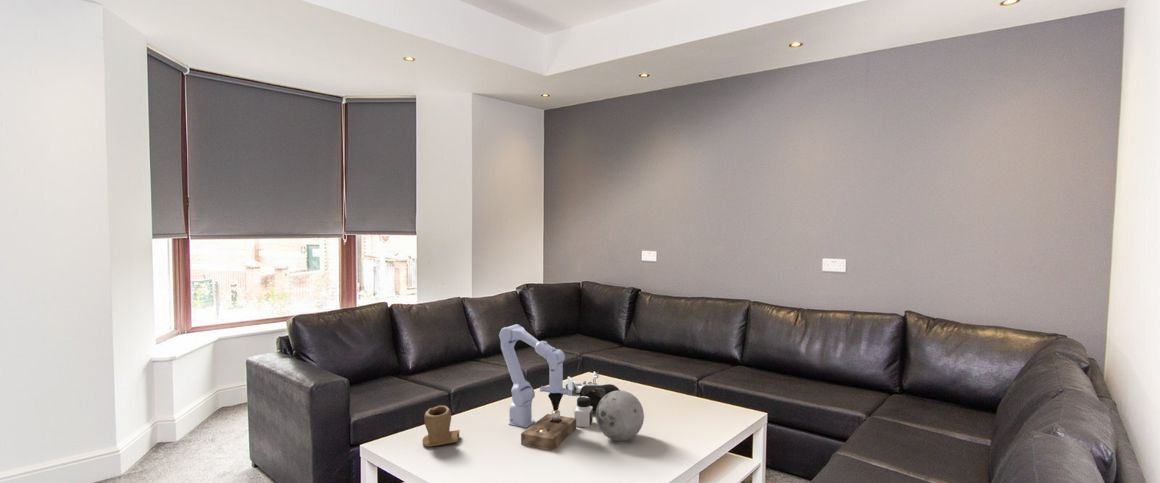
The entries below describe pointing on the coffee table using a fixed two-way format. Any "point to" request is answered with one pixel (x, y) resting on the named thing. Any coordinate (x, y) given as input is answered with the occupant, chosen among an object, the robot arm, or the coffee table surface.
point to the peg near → (543, 431)
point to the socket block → (554, 434)
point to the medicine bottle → (583, 412)
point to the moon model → (619, 415)
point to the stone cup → (439, 427)
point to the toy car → (577, 387)
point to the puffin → (596, 393)
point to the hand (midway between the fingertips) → (555, 409)
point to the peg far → (556, 416)
